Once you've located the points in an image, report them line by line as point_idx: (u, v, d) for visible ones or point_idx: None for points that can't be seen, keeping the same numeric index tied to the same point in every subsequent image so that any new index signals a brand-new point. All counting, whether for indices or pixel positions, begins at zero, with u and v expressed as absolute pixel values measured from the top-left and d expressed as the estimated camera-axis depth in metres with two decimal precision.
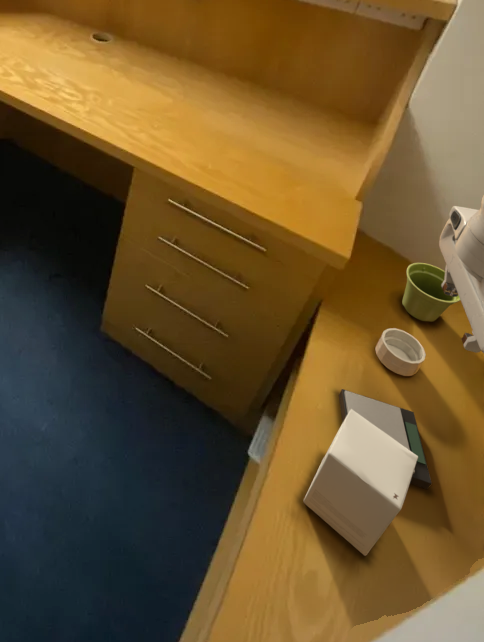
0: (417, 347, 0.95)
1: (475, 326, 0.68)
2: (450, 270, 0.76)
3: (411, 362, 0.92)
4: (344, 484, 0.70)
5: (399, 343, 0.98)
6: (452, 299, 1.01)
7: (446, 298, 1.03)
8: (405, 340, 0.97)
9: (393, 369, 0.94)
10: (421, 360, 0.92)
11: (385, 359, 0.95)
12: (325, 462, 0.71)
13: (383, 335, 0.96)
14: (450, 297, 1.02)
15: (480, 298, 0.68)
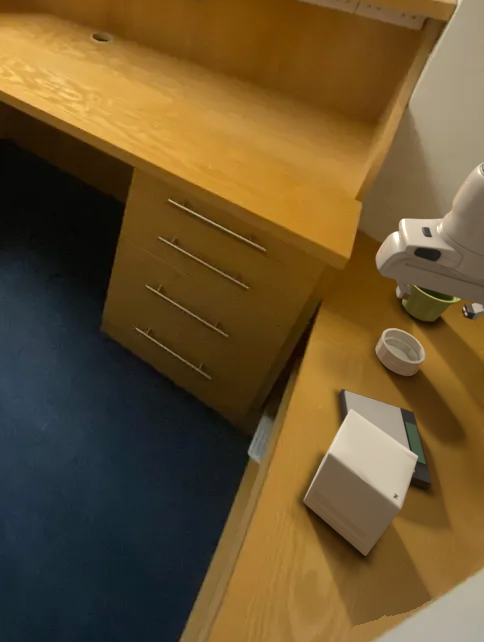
0: (417, 347, 0.95)
1: None
2: (422, 285, 0.82)
3: (411, 362, 0.92)
4: (344, 483, 0.70)
5: (399, 343, 0.98)
6: (452, 299, 1.01)
7: (446, 298, 1.03)
8: (405, 340, 0.97)
9: (393, 369, 0.94)
10: (421, 360, 0.92)
11: (385, 359, 0.95)
12: (325, 462, 0.71)
13: (383, 335, 0.96)
14: (450, 297, 1.02)
15: None
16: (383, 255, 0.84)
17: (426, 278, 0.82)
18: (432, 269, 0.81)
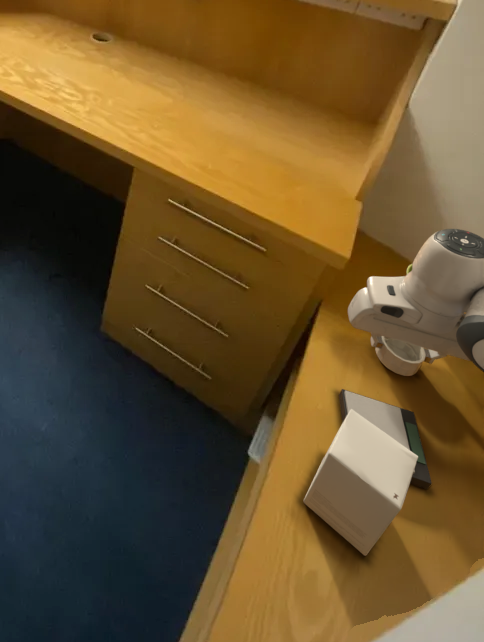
0: (417, 347, 0.95)
1: (455, 353, 0.89)
2: (388, 336, 0.92)
3: (411, 362, 0.92)
4: (344, 483, 0.70)
5: (399, 343, 0.98)
6: None
7: None
8: None
9: (393, 369, 0.94)
10: (421, 360, 0.92)
11: (385, 359, 0.95)
12: (325, 462, 0.71)
13: None
14: None
15: (445, 337, 0.89)
16: (354, 309, 0.94)
17: (392, 330, 0.91)
18: (397, 322, 0.91)
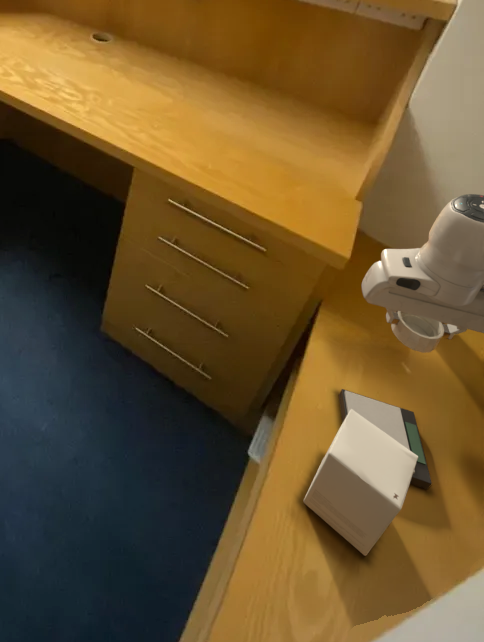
0: (435, 323, 0.91)
1: (476, 326, 0.85)
2: (405, 310, 0.89)
3: (429, 338, 0.88)
4: (344, 483, 0.70)
5: (416, 319, 0.94)
6: None
7: None
8: None
9: (410, 346, 0.90)
10: (440, 335, 0.88)
11: (402, 336, 0.91)
12: (325, 462, 0.71)
13: (399, 311, 0.92)
14: None
15: (464, 310, 0.85)
16: (368, 284, 0.90)
17: (408, 304, 0.88)
18: (413, 296, 0.87)
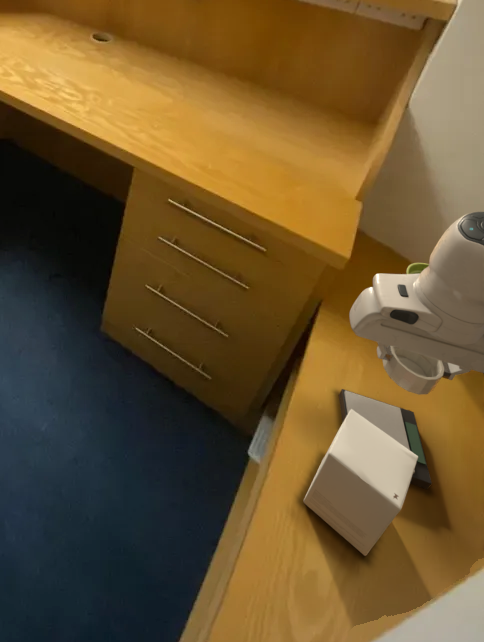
0: (433, 359, 0.78)
1: (482, 367, 0.72)
2: (399, 346, 0.76)
3: (427, 378, 0.75)
4: (344, 483, 0.70)
5: (411, 354, 0.81)
6: None
7: None
8: None
9: (404, 386, 0.77)
10: (439, 376, 0.75)
11: (395, 374, 0.78)
12: (325, 462, 0.71)
13: None
14: None
15: (469, 348, 0.72)
16: (357, 314, 0.77)
17: (403, 339, 0.75)
18: (409, 330, 0.74)
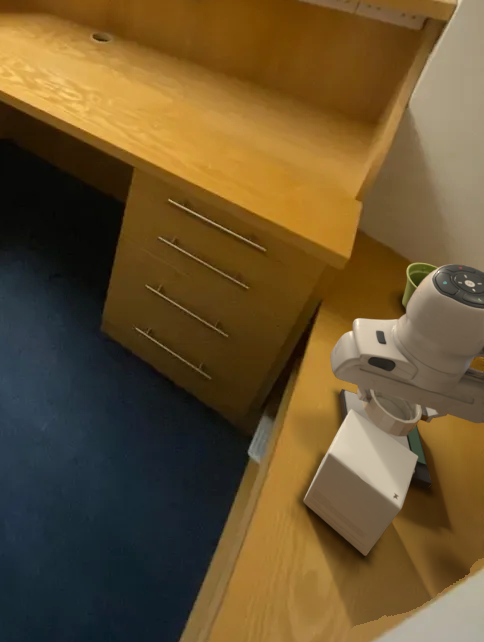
0: None
1: (458, 412, 0.74)
2: (378, 390, 0.78)
3: (405, 422, 0.77)
4: (344, 483, 0.70)
5: None
6: None
7: None
8: None
9: (383, 428, 0.79)
10: (417, 419, 0.77)
11: (374, 416, 0.80)
12: (325, 462, 0.71)
13: None
14: None
15: (445, 394, 0.74)
16: (337, 357, 0.79)
17: (382, 383, 0.77)
18: (388, 375, 0.76)
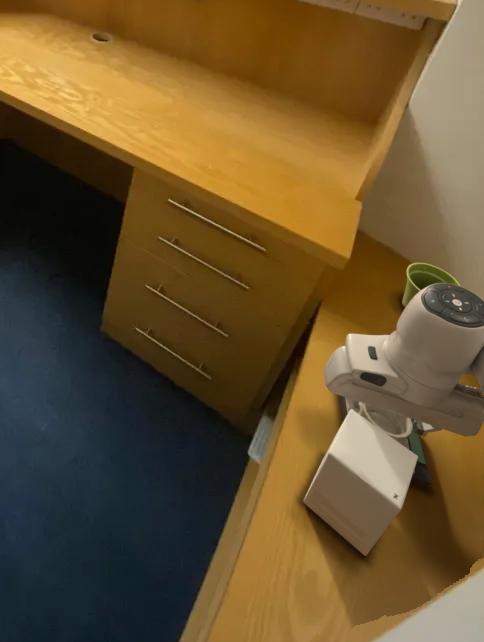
0: (403, 416, 0.82)
1: (448, 426, 0.76)
2: (370, 403, 0.80)
3: (395, 436, 0.79)
4: (344, 483, 0.70)
5: None
6: None
7: None
8: None
9: None
10: (407, 433, 0.79)
11: None
12: (325, 462, 0.71)
13: None
14: None
15: (435, 408, 0.76)
16: (331, 372, 0.81)
17: (374, 397, 0.79)
18: (379, 389, 0.78)
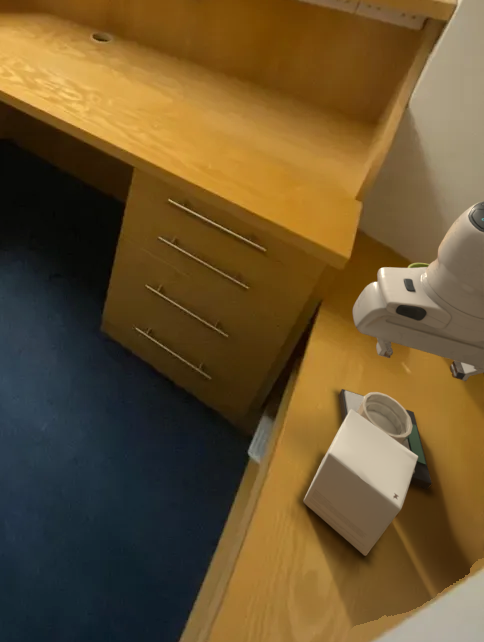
0: (403, 416, 0.82)
1: None
2: (405, 344, 0.72)
3: (395, 436, 0.79)
4: (344, 483, 0.70)
5: (383, 409, 0.85)
6: None
7: None
8: (389, 406, 0.84)
9: None
10: (407, 433, 0.79)
11: None
12: (325, 462, 0.71)
13: (364, 401, 0.83)
14: None
15: (479, 346, 0.68)
16: (361, 310, 0.73)
17: (410, 336, 0.71)
18: (416, 327, 0.70)
